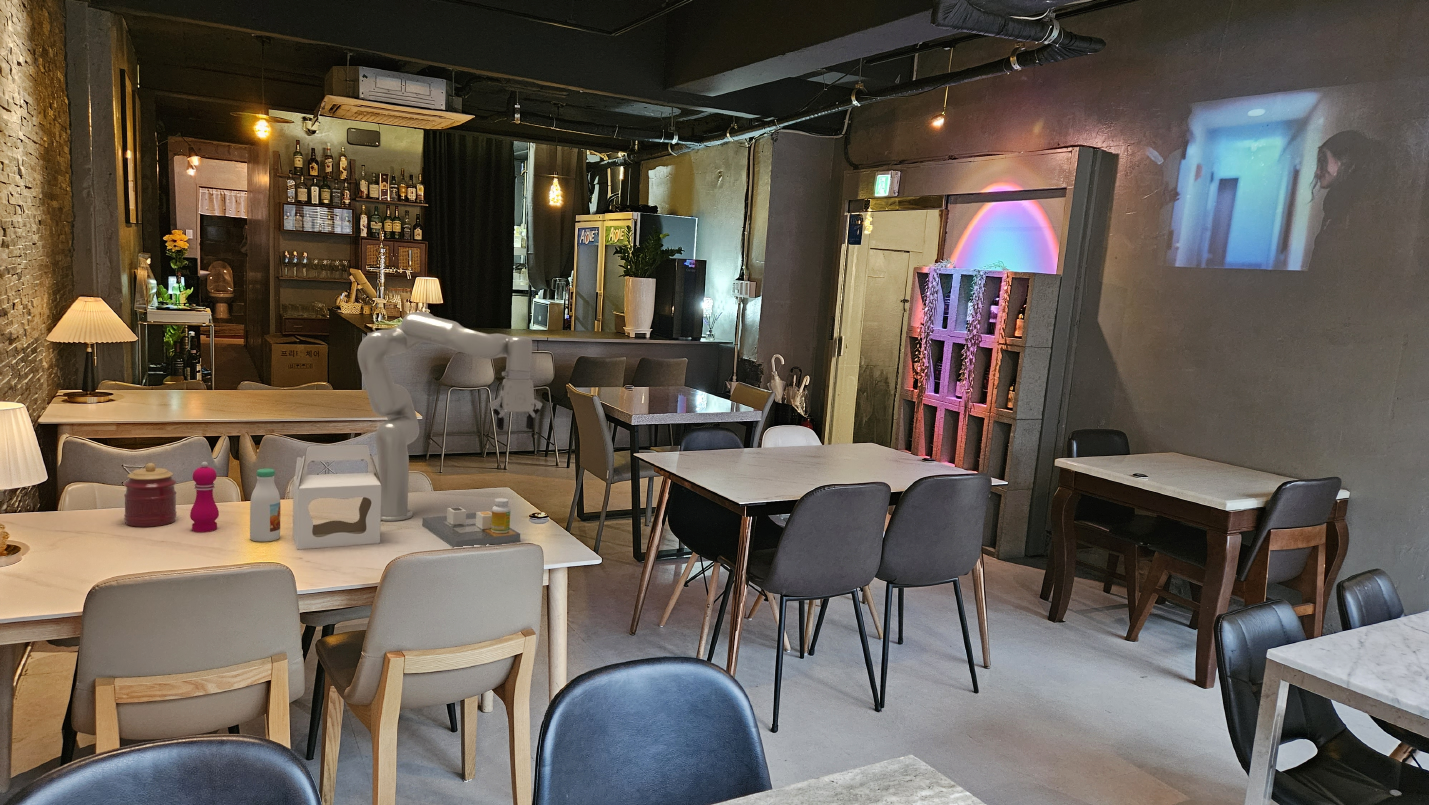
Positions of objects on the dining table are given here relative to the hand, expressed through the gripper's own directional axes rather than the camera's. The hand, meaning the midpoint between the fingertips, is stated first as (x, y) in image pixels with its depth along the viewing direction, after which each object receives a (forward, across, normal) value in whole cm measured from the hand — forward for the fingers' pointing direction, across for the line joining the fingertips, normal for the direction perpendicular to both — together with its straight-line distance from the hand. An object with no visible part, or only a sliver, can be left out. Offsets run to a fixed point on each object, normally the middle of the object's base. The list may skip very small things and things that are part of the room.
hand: (514, 429), depth 279 cm
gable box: (+32, -52, +2) cm, 61 cm away
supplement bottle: (+29, -9, -14) cm, 33 cm away
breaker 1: (+29, -18, 0) cm, 34 cm away
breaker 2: (+29, -11, -8) cm, 32 cm away
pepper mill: (+33, -82, +27) cm, 93 cm away
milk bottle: (+32, -69, +11) cm, 77 cm away
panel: (+32, -14, -4) cm, 35 cm away
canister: (+33, -95, +40) cm, 108 cm away
